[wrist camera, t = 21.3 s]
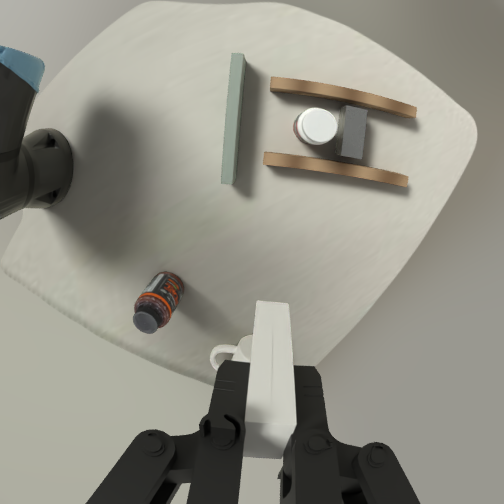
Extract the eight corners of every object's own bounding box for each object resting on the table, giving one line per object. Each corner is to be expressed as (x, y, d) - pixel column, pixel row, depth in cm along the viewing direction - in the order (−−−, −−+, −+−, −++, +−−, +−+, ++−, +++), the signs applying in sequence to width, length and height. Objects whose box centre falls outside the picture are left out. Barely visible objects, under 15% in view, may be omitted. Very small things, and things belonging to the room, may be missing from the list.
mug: (281, 340, 51) (282, 370, 43) (263, 372, 55) (262, 402, 47) (219, 322, 50) (212, 352, 43) (208, 357, 54) (200, 386, 47)
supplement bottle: (191, 290, 48) (172, 331, 37) (168, 304, 49) (146, 344, 39) (169, 264, 46) (143, 300, 35) (146, 280, 47) (119, 316, 37)
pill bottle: (286, 124, 36) (290, 121, 28) (311, 105, 35) (322, 97, 27) (307, 150, 37) (317, 153, 30) (332, 131, 36) (348, 130, 28)
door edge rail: (225, 179, 40) (220, 183, 36) (235, 60, 32) (231, 53, 29) (235, 180, 40) (232, 184, 36) (246, 61, 32) (243, 53, 29)
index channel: (263, 162, 38) (263, 164, 36) (271, 80, 33) (271, 76, 31) (398, 183, 38) (406, 187, 35) (407, 108, 33) (416, 107, 30)
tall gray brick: (335, 153, 37) (340, 155, 34) (340, 107, 34) (346, 105, 31) (354, 157, 37) (361, 159, 34) (359, 111, 34) (367, 110, 31)
